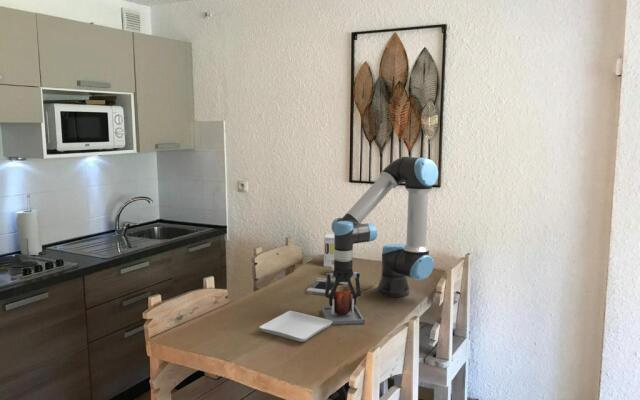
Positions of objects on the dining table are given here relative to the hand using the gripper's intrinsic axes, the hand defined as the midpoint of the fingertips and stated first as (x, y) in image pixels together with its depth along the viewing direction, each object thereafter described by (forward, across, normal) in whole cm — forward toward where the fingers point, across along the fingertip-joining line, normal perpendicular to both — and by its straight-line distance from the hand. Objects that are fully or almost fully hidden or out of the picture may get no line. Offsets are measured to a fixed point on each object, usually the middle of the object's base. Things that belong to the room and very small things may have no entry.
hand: (342, 312), depth 226 cm
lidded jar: (+2, -10, -61) cm, 62 cm away
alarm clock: (+3, 0, -36) cm, 36 cm away
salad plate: (+2, +20, +12) cm, 24 cm away
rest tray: (+2, 0, 0) cm, 2 cm away
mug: (0, +1, 0) cm, 1 cm away
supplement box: (+2, -9, -81) cm, 82 cm away
